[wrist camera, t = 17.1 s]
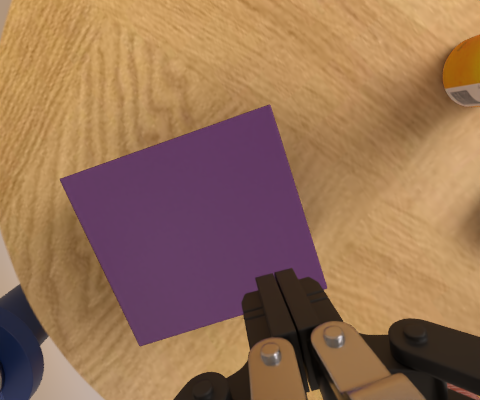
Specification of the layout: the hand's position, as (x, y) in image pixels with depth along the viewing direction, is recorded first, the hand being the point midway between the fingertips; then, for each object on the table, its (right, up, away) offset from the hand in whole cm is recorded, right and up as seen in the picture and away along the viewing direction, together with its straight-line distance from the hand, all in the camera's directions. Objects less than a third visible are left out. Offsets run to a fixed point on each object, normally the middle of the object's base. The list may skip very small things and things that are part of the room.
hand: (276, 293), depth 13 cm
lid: (-4, +1, +13) cm, 13 cm away
